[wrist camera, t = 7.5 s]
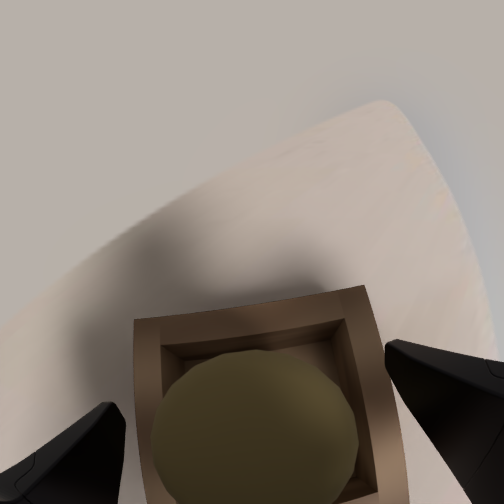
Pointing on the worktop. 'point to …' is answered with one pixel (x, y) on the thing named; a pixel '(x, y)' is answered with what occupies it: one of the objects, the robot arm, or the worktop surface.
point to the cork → (254, 433)
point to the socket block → (299, 346)
